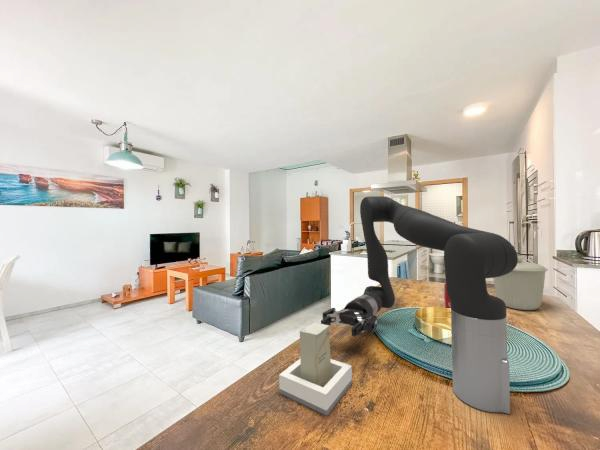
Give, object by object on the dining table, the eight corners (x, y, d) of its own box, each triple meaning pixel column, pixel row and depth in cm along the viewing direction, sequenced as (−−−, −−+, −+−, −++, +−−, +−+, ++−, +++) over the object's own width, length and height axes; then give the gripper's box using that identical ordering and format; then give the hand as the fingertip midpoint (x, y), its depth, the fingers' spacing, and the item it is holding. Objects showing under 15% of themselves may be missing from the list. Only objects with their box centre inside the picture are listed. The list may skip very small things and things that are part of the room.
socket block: (352, 383, 56) (351, 365, 56) (326, 416, 47) (326, 394, 47) (309, 367, 63) (308, 351, 63) (279, 393, 54) (279, 374, 54)
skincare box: (318, 395, 51) (316, 335, 51) (300, 387, 54) (298, 331, 54) (331, 378, 56) (330, 324, 56) (314, 372, 59) (313, 321, 59)
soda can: (469, 313, 97) (468, 282, 97) (451, 314, 97) (450, 283, 97) (458, 307, 104) (457, 278, 104) (441, 308, 104) (440, 279, 104)
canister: (486, 306, 104) (484, 256, 104) (495, 297, 116) (493, 252, 116) (547, 317, 91) (545, 259, 91) (550, 306, 103) (548, 254, 103)
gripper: (340, 294, 81) (312, 309, 67) (384, 301, 72) (363, 319, 59) (340, 317, 81) (313, 336, 67) (385, 327, 72) (364, 351, 59)
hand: (337, 328), depth 63 cm, fingers open, 8 cm apart
